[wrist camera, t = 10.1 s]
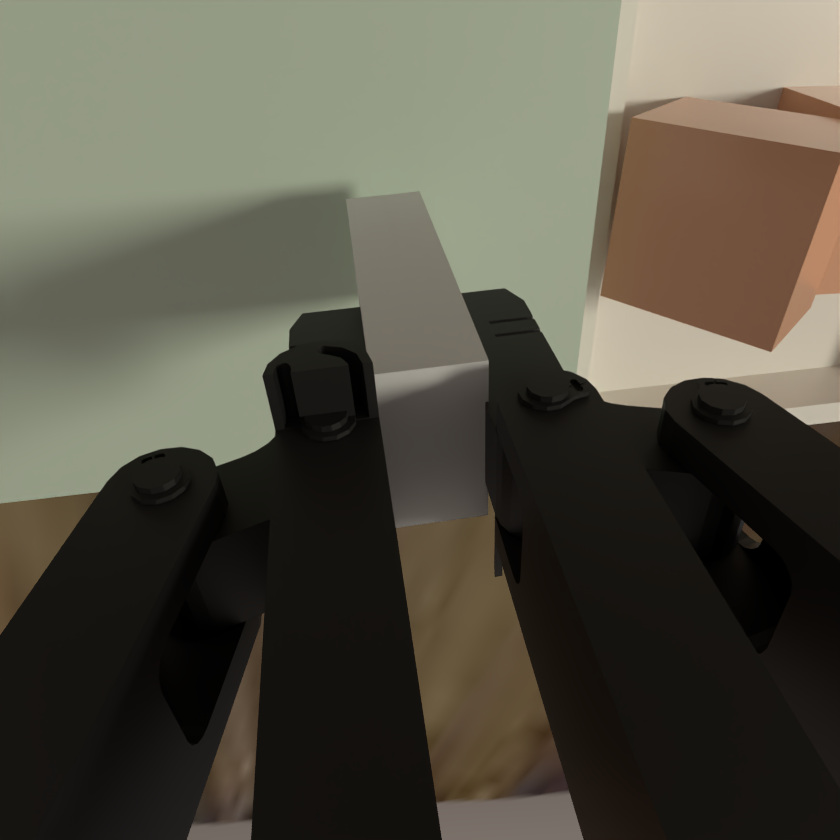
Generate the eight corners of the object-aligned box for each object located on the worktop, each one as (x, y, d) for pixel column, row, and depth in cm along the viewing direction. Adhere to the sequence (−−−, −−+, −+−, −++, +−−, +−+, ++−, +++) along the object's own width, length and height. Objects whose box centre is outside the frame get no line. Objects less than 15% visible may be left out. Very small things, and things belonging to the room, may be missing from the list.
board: (-209, -93, 13) (-346, -98, 10) (575, -129, 15) (638, -140, 12) (40, 426, 21) (-1, 503, 18) (536, 373, 22) (568, 437, 20)
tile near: (686, 96, 17) (631, 117, 15) (881, 124, 15) (843, 153, 13) (650, 261, 20) (600, 295, 18) (810, 307, 18) (771, 352, 16)
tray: (601, -224, 14) (651, -248, 12) (1155, -242, 15) (1286, -267, 13) (544, 407, 23) (567, 453, 21) (882, 370, 24) (933, 409, 22)
